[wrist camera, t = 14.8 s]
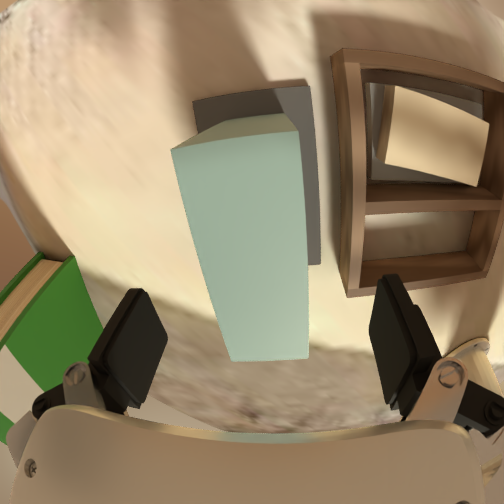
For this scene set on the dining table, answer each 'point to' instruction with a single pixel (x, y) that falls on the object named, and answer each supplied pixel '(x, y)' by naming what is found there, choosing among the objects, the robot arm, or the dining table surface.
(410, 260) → the rack
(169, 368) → the dining table surface
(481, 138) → the offcut upper
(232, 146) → the pale green square slab
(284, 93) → the mat
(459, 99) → the offcut lower
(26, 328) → the hardback book
